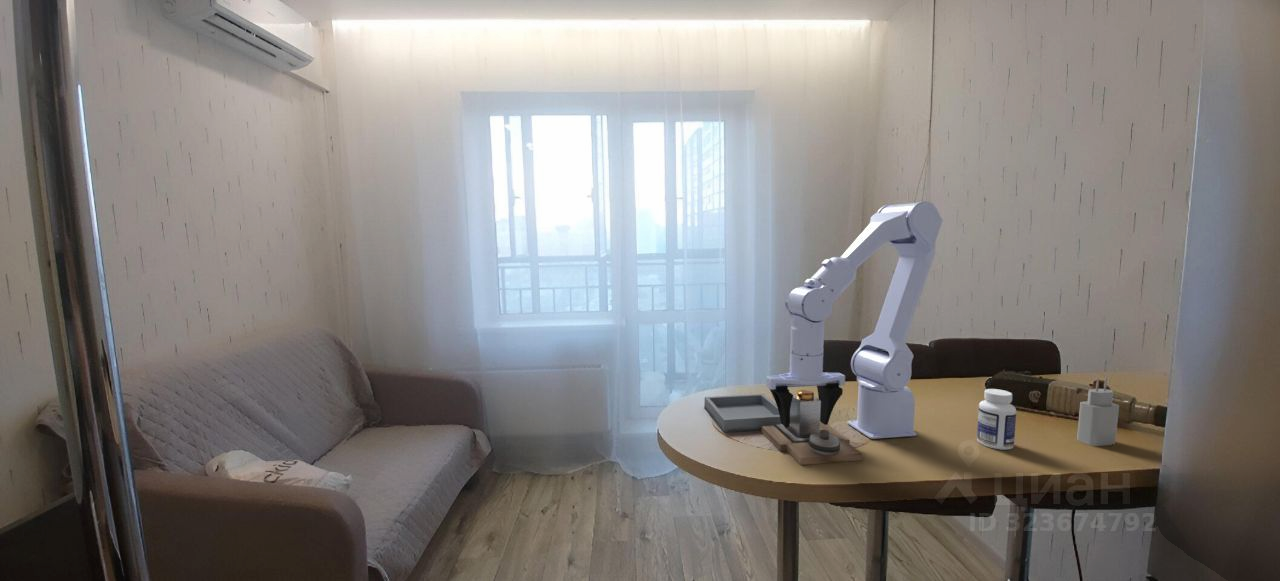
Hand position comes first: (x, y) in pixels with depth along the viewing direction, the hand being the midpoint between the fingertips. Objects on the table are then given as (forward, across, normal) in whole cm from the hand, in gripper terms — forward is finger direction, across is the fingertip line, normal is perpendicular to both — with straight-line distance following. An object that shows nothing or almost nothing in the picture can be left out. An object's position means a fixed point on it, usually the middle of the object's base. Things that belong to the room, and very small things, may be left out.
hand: (804, 423), depth 88 cm
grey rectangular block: (+3, 0, 0) cm, 3 cm away
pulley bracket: (+3, 0, +2) cm, 4 cm away
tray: (+3, +7, -12) cm, 14 cm away
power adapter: (+3, -52, +10) cm, 53 cm away
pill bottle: (+3, -33, +8) cm, 34 cm away
